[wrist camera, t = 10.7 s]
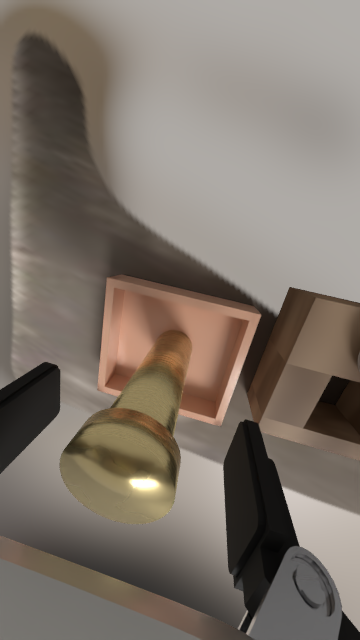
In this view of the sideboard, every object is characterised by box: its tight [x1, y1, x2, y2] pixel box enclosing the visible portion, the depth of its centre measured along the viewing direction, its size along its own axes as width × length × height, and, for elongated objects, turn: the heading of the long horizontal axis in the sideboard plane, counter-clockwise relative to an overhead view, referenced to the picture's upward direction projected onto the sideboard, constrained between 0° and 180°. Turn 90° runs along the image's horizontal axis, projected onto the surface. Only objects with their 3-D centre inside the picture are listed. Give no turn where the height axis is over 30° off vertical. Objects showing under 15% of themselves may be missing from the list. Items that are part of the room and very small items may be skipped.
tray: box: [98, 275, 261, 426], centre depth 17 cm, size 11×10×2 cm
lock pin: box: [60, 330, 192, 524], centre depth 12 cm, size 4×4×11 cm
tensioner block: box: [247, 287, 360, 461], centre depth 13 cm, size 10×10×6 cm
